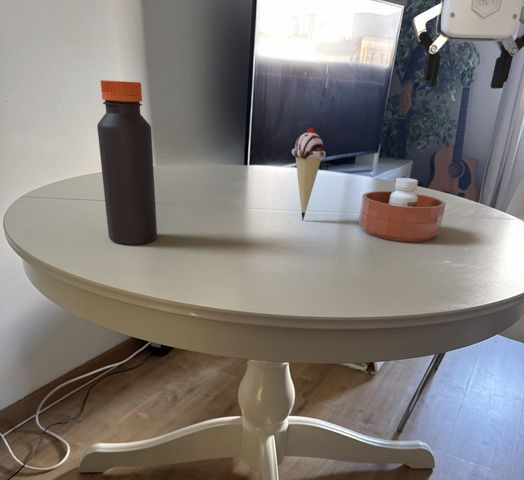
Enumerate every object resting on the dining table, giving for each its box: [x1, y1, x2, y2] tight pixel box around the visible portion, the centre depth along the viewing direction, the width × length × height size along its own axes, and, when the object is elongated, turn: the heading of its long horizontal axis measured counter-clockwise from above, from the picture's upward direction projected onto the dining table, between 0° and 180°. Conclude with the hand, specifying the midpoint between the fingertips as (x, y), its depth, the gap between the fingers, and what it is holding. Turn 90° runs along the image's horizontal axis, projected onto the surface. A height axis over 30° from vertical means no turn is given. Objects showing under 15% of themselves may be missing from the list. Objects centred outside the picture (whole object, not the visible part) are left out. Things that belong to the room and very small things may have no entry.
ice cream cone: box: [291, 127, 327, 222], centre depth 81 cm, size 6×6×15 cm
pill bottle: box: [389, 177, 419, 207], centre depth 79 cm, size 4×4×8 cm
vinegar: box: [97, 79, 158, 246], centre depth 65 cm, size 7×7×20 cm
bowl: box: [357, 190, 446, 243], centre depth 80 cm, size 13×13×6 cm
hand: (463, 87), depth 70 cm, fingers open, 9 cm apart
